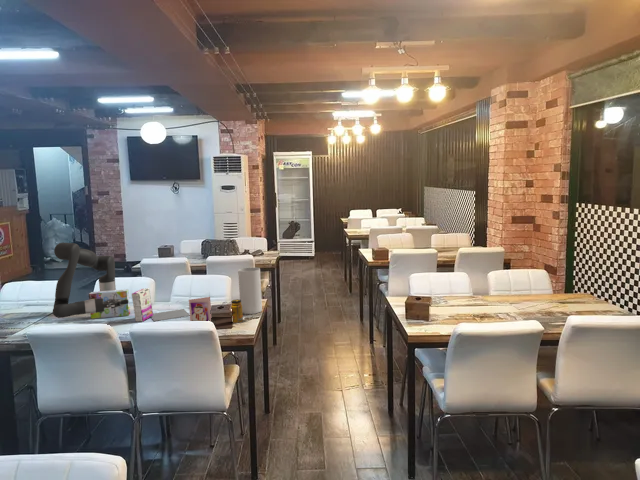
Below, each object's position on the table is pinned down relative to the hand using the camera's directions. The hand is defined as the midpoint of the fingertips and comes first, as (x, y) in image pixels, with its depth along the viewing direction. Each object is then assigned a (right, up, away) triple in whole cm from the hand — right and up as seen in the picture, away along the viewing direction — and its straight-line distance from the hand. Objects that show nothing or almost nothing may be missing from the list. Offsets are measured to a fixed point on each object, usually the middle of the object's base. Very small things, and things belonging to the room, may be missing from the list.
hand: (128, 301), depth 281 cm
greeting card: (+45, -12, -13) cm, 48 cm away
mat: (+20, -9, +11) cm, 25 cm away
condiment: (+63, -10, -7) cm, 64 cm away
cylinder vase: (+67, -8, +13) cm, 69 cm away
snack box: (-16, -11, +14) cm, 24 cm away
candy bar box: (+7, -11, +5) cm, 14 cm away
